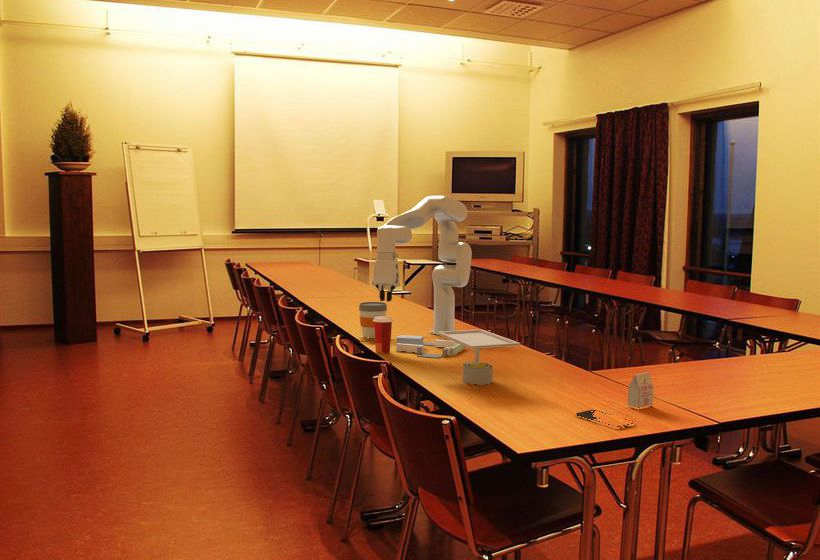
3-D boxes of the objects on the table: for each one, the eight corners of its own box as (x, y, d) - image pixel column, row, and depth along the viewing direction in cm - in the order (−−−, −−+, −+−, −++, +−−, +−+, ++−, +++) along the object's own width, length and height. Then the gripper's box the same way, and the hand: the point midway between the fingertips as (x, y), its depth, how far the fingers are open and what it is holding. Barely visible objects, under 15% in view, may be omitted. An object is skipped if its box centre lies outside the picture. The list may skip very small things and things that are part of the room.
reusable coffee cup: (386, 339, 313) (386, 305, 312) (357, 339, 313) (357, 305, 312) (387, 334, 326) (387, 302, 324) (360, 334, 326) (360, 301, 324)
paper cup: (393, 350, 288) (393, 316, 287) (391, 354, 281) (391, 319, 280) (374, 350, 289) (374, 315, 288) (371, 353, 282) (371, 318, 280)
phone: (593, 409, 203) (636, 422, 191) (593, 413, 203) (636, 426, 191) (573, 413, 198) (617, 427, 186) (573, 417, 199) (616, 431, 186)
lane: (415, 341, 308) (415, 335, 308) (469, 346, 299) (469, 339, 299) (389, 354, 281) (389, 346, 281) (447, 359, 273) (447, 351, 272)
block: (399, 346, 298) (400, 335, 297) (423, 348, 295) (423, 336, 295) (396, 349, 292) (396, 337, 291) (420, 350, 290) (420, 338, 289)
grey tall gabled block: (627, 407, 208) (628, 373, 207) (641, 404, 212) (643, 371, 211) (638, 410, 205) (639, 376, 204) (652, 407, 209) (654, 373, 208)
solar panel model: (436, 374, 248) (436, 331, 246) (481, 370, 254) (481, 329, 252) (470, 393, 222) (471, 345, 221) (519, 389, 228) (520, 342, 226)
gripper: (407, 256, 295) (407, 301, 296) (372, 255, 300) (371, 298, 302) (400, 257, 288) (400, 303, 289) (364, 256, 293) (364, 301, 295)
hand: (385, 300), depth 296 cm, fingers closed
